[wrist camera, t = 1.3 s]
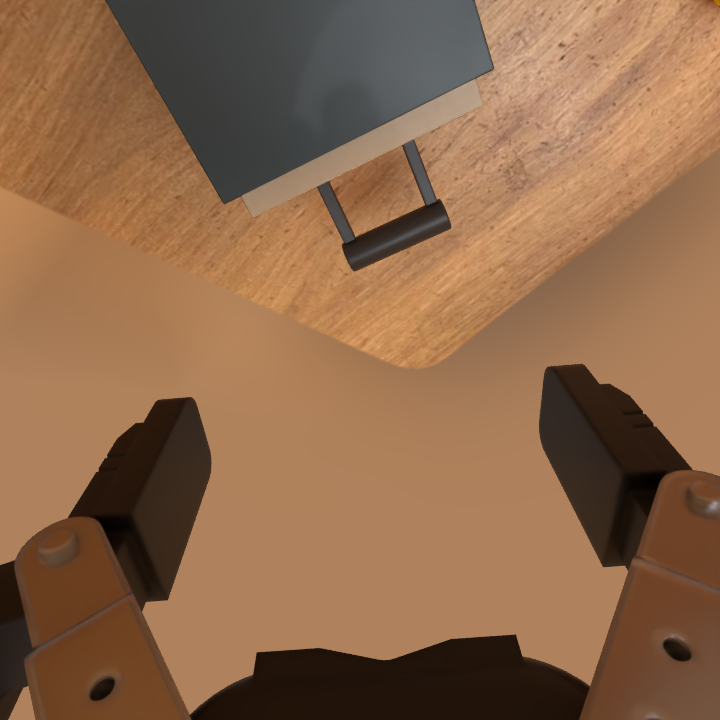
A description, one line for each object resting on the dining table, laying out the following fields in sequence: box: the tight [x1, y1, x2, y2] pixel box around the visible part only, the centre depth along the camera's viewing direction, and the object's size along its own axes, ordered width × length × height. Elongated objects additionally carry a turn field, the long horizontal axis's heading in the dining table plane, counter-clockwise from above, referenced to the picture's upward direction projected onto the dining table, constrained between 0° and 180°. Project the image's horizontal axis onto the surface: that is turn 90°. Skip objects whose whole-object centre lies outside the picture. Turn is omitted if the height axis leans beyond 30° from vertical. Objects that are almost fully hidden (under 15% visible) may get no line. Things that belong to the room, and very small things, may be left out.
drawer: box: [241, 79, 484, 271], centre depth 25 cm, size 18×11×8 cm, turn 24°
